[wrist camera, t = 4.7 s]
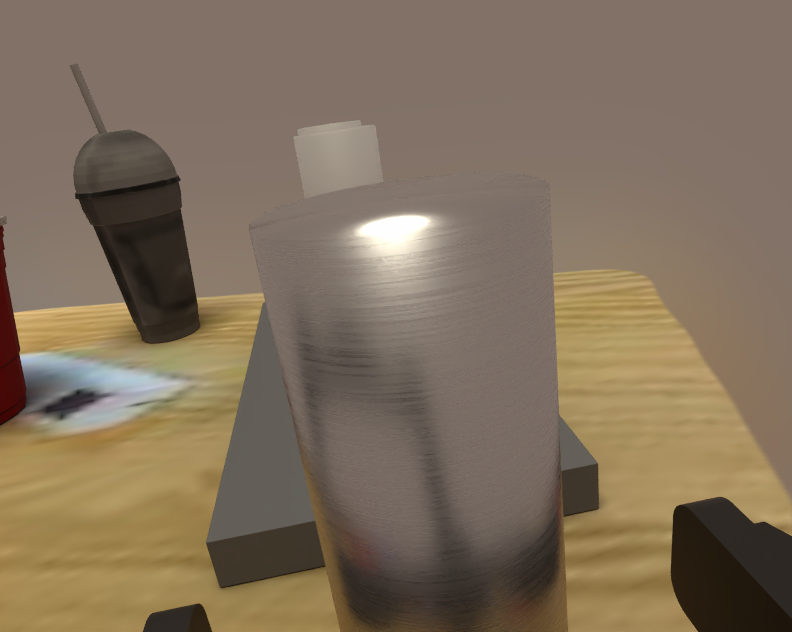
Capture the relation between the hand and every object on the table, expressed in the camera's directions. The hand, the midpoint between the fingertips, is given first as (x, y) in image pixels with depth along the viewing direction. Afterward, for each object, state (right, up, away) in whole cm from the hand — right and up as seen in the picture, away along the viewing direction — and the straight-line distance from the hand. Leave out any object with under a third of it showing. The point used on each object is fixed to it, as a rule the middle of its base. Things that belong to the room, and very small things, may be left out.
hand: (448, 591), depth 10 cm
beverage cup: (-19, +3, +37) cm, 42 cm away
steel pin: (+1, -7, +3) cm, 8 cm away
